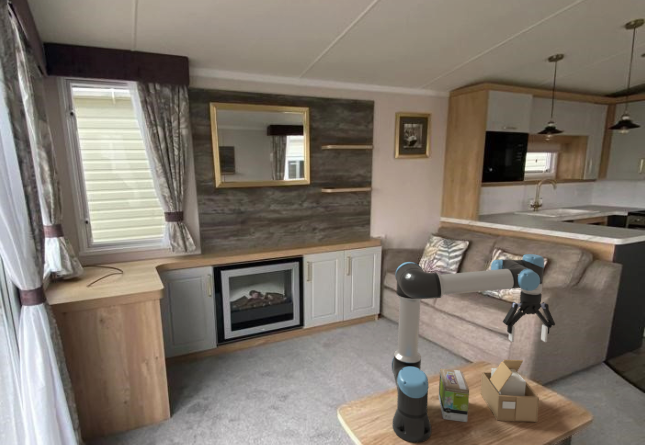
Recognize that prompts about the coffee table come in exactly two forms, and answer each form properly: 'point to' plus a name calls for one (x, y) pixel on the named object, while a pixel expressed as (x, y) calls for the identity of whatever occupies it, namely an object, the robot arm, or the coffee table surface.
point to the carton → (510, 398)
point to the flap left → (501, 376)
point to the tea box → (453, 395)
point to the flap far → (513, 364)
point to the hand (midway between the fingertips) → (527, 340)
